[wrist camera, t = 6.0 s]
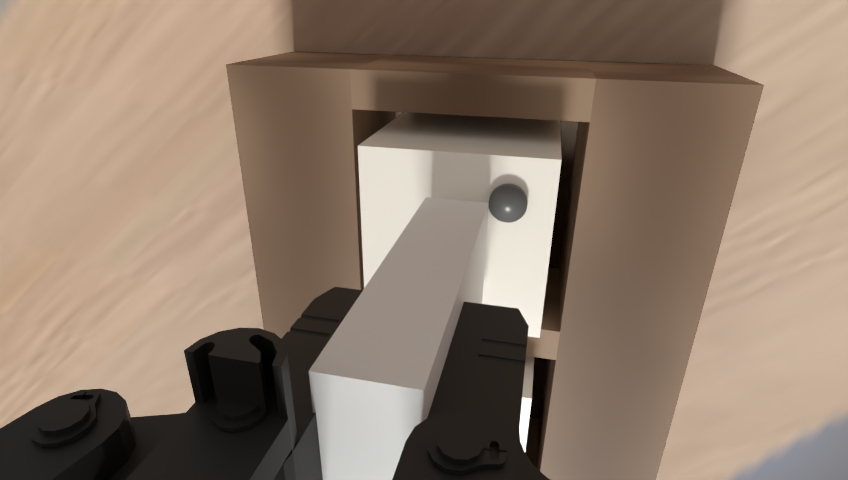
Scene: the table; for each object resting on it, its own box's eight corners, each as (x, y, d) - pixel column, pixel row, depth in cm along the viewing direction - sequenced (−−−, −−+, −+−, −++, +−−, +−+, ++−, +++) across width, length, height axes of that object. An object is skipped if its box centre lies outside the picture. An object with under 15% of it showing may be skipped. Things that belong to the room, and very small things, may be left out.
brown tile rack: (334, 506, 27) (300, 584, 23) (293, 51, 17) (226, 64, 14) (598, 563, 24) (605, 660, 20) (714, 65, 15) (763, 85, 11)
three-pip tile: (409, 241, 19) (363, 317, 14) (409, 108, 17) (354, 147, 12) (543, 255, 18) (539, 342, 13) (559, 116, 16) (561, 162, 11)
